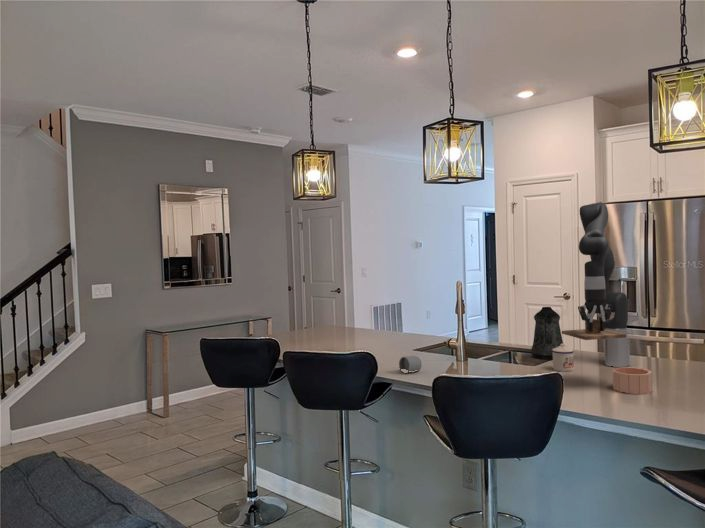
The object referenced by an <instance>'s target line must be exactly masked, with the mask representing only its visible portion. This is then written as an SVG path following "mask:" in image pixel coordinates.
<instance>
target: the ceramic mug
mask: <svg viewBox="0 0 705 528" xmlns="http://www.w3.org/2000/svg"><path fill="white" fill-rule="evenodd" d="M398 363H399V364H398V368H400V369H399V370H400V371H401V369H406V370H408V372H409V371H415V370H419V371H420V370H421V369H422V367H423V366H422V365H423V364H422V361H421V359H420V357H419V356H416V355H411V356H410V355H409V356H402V357H401V358H399V362H398Z"/></svg>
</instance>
